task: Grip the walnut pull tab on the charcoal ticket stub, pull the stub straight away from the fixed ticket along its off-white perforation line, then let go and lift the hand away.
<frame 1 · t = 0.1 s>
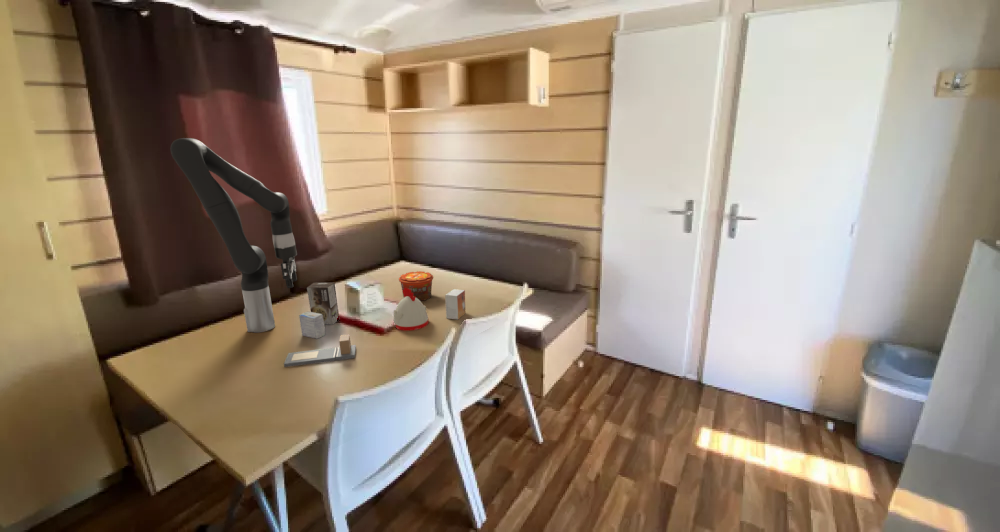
hand: (292, 284, 175), 17 cm above the table, tool pointing down, fingers open, 8 cm apart
coffee box: (326, 321, 182), on the table
kitchen timer: (411, 324, 179), on the table
food container: (417, 297, 209), on the table
small box: (456, 316, 186), on the table
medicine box: (313, 335, 169), on the table
stub: (345, 345, 153), point 3 cm above the table, slide at 0.0 cm
ticket: (311, 358, 151), on the table
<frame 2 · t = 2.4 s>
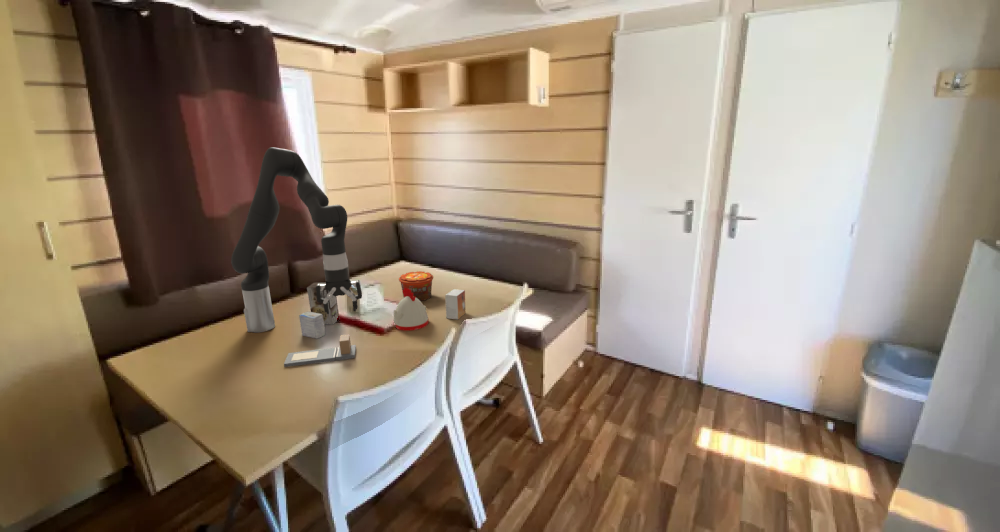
hand: (341, 311, 149), 16 cm above the table, tool pointing down, fingers open, 8 cm apart
nothing on the table moved.
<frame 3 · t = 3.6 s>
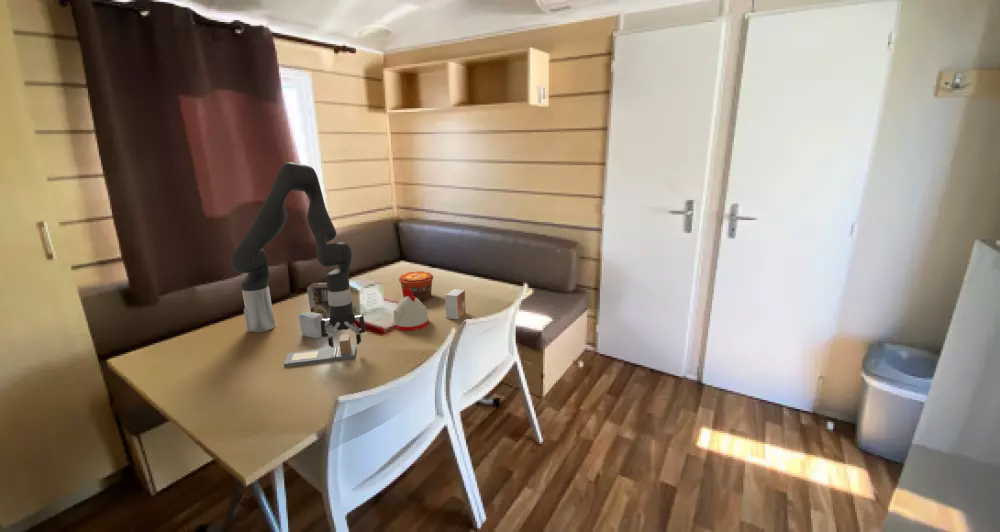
hand: (345, 345, 153), 3 cm above the table, tool pointing down, fingers open, 8 cm apart
nothing on the table moved.
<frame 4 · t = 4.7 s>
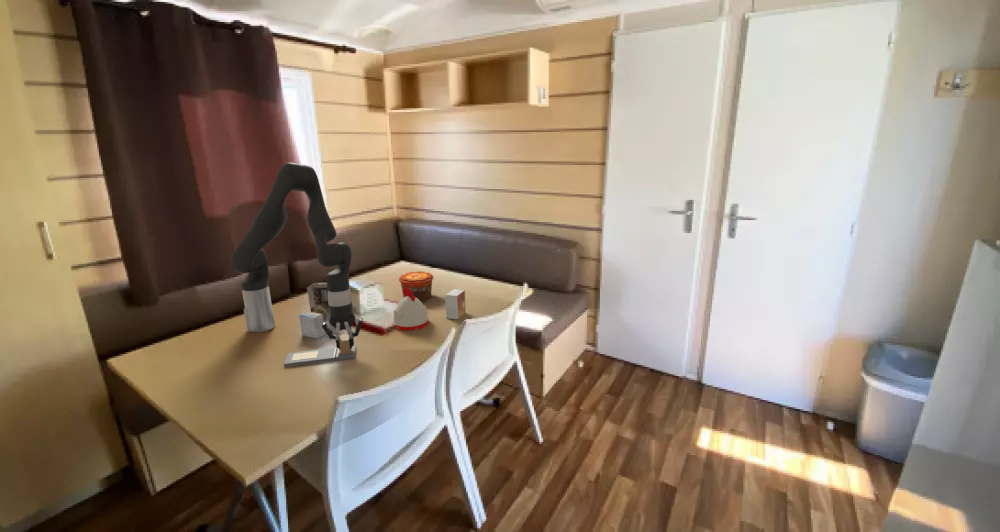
hand: (345, 347, 153), 2 cm above the table, tool pointing down, fingers closed on stub, 3 cm apart
stub: (345, 345, 153), point 3 cm above the table, slide at 0.0 cm, touching gripper
everything else where it was.
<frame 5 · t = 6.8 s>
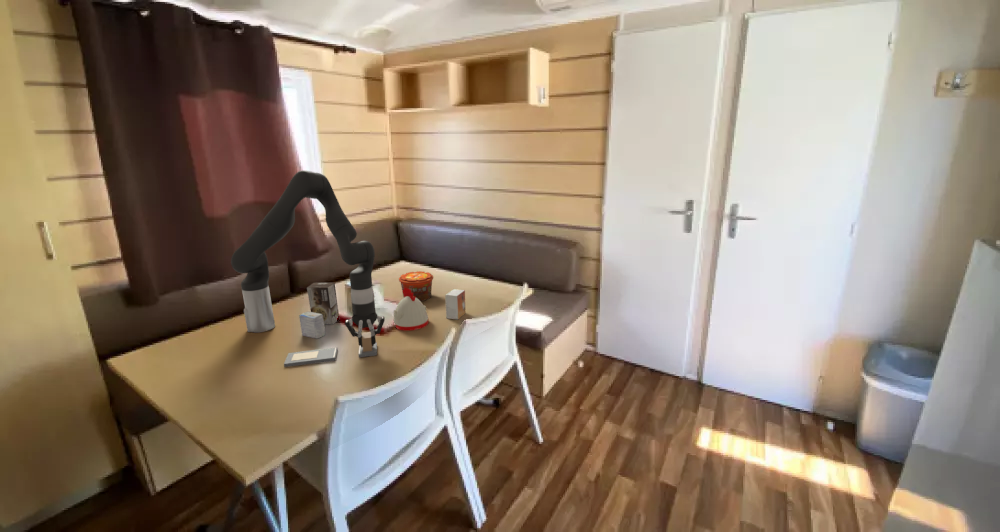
hand: (367, 345, 155), 2 cm above the table, tool pointing down, fingers closed on stub, 3 cm apart
stub: (367, 343, 155), point 3 cm above the table, slide at 7.3 cm, touching gripper
everything else where it was.
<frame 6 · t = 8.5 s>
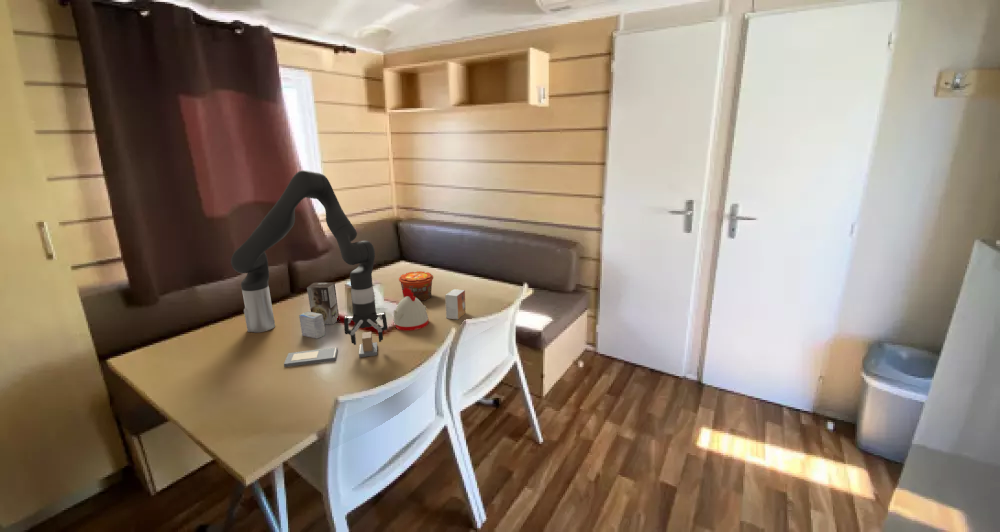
hand: (367, 342, 154), 3 cm above the table, tool pointing down, fingers open, 8 cm apart
stub: (367, 343, 155), point 3 cm above the table, slide at 7.4 cm
everything else where it was.
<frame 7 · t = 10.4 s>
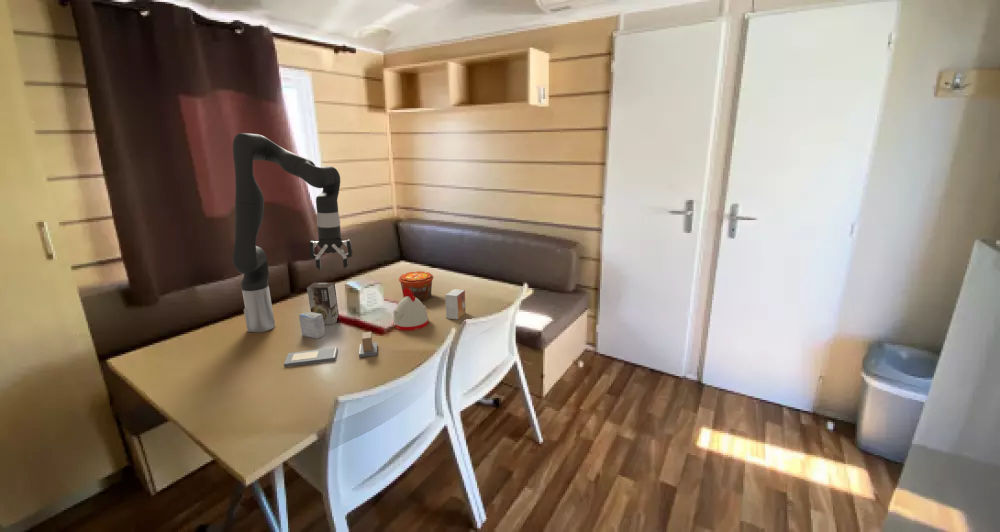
hand: (332, 268, 159), 27 cm above the table, tool pointing down, fingers open, 8 cm apart
nothing on the table moved.
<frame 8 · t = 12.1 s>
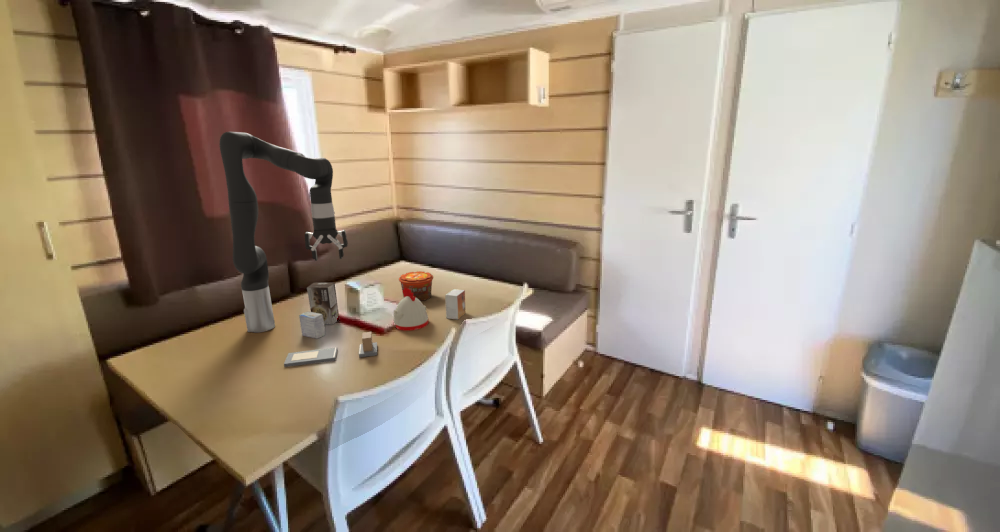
hand: (328, 259, 161), 30 cm above the table, tool pointing down, fingers open, 8 cm apart
nothing on the table moved.
at the end: stub slide at 7.4 cm; the gripper is holding nothing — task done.
